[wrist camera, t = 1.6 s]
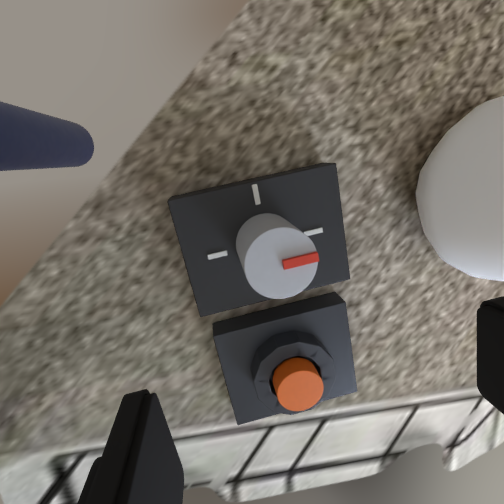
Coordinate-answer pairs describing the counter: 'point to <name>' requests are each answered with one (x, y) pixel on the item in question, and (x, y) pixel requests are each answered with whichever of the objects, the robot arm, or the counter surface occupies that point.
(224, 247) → the timer panel
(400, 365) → the counter surface
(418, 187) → the cup
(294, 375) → the button
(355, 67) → the counter surface
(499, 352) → the robot arm
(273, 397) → the block
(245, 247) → the timer knob
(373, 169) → the counter surface
